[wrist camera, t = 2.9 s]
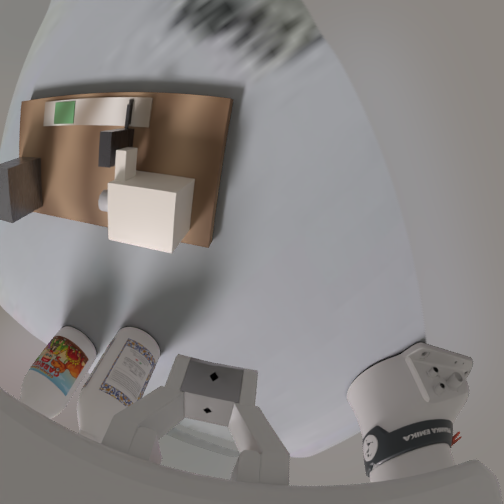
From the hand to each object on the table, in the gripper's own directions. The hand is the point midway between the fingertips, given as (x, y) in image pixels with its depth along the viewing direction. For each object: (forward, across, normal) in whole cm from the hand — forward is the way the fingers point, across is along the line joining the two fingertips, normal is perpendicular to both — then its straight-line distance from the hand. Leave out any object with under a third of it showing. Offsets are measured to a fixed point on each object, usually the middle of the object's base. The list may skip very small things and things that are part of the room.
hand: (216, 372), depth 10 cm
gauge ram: (+18, +10, -1) cm, 20 cm away
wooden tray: (+19, +17, -3) cm, 26 cm away
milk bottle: (+20, +25, +27) cm, 42 cm away
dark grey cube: (+18, +27, 0) cm, 33 cm away
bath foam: (+20, +13, +22) cm, 32 cm away
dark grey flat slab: (+18, +13, -6) cm, 23 cm away
